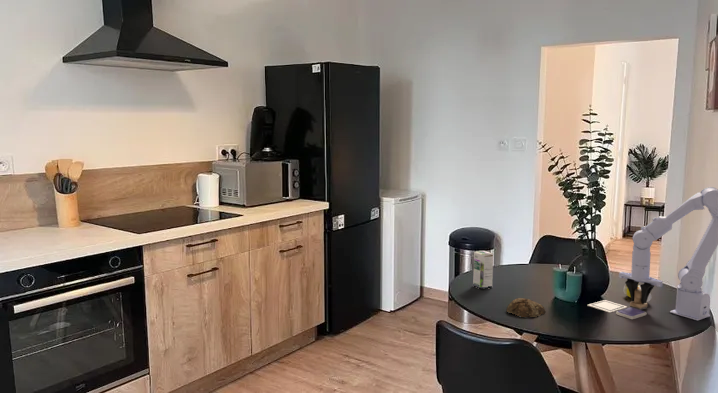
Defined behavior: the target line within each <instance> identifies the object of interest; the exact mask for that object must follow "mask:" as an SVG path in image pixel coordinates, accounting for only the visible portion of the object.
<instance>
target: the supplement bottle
mask: <svg viewBox="0 0 718 393" xmlns="http://www.w3.org/2000/svg"><path fill="white" fill-rule="evenodd" d="M640 285H641V284H640ZM640 285H639V284H638V288H637V289H641V287H640ZM622 290H623V293H624V294H625V296H627V297H629V298H631V296H630V292H629V289H628V287H627V285H626V284H624V286H623V289H622ZM651 300H652V294H651V293H650V294H649V296H648V299H647V302H646V303H648V302H650V301H651Z"/></svg>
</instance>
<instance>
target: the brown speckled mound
mask: <svg viewBox="0 0 718 393" xmlns="http://www.w3.org/2000/svg"><path fill="white" fill-rule="evenodd" d="M507 312H509V313H512V314H511V315H514V314H515V315H514V316H516V315H517V316H521V317H528V318H530V317H535V318H538V317H537V316H539V315H540V316H542V315H541V314H543V315H545V314H546V312H547V311H546V309H545V307H544V306H543V305H542V304H540V303H538V302H536V301H534V300H531V299H530V298H522V297H518V298H515V299H513V300H512V301H510V303H509V304H508V305H507V307H506V313H507ZM509 313H508V314H509ZM517 316H516V317H517ZM540 316H539V317H540Z"/></svg>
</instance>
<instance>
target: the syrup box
mask: <svg viewBox="0 0 718 393" xmlns="http://www.w3.org/2000/svg"><path fill="white" fill-rule="evenodd" d="M472 274H473V278H472V279H473V280H472V281H473V283H472V285H473V284H475V285H477V286H479V287H488V286H492V287H493V280H494V279H493V276H494V253H493V252H489V251H486V250H477V251H474V252H473V273H472Z"/></svg>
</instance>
